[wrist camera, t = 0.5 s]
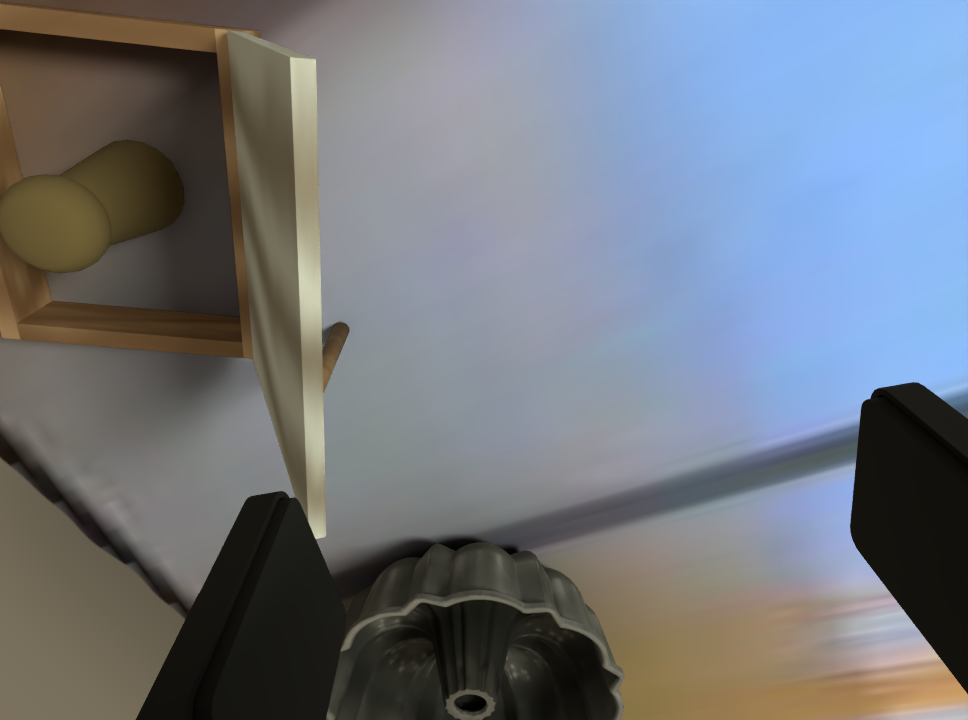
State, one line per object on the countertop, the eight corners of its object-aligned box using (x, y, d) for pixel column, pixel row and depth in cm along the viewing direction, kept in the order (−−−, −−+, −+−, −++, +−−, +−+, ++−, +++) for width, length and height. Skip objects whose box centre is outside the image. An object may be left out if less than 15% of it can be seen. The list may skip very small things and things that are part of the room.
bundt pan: (279, 597, 60) (245, 694, 51) (493, 459, 53) (496, 545, 44) (453, 724, 70) (450, 825, 61) (654, 623, 63) (683, 721, 54)
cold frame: (-42, -3, 37) (-567, -38, 18) (391, 45, 38) (313, 59, 20) (38, 314, 46) (-253, 503, 28) (383, 343, 47) (324, 541, 29)
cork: (155, 128, 40) (53, 159, 30) (200, 217, 43) (119, 272, 33) (72, 154, 41) (-54, 193, 31) (121, 241, 44) (20, 301, 34)
